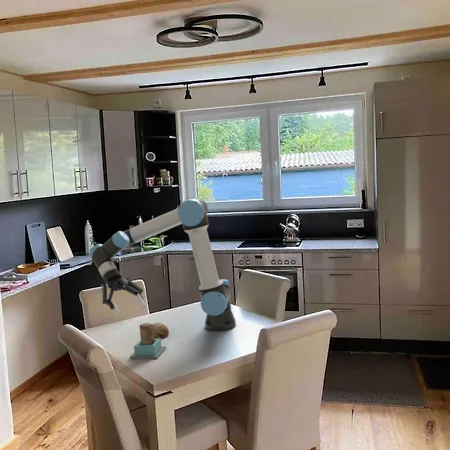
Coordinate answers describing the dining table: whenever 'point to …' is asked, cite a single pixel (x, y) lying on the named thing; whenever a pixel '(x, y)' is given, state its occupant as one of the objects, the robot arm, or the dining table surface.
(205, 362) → the dining table surface
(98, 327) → the dining table surface
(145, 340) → the walnut post
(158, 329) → the bread roll
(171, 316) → the dining table surface
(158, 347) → the teal square socket
